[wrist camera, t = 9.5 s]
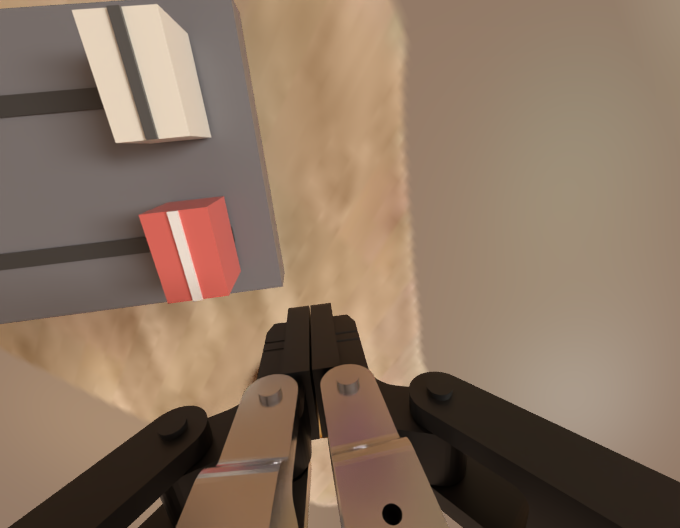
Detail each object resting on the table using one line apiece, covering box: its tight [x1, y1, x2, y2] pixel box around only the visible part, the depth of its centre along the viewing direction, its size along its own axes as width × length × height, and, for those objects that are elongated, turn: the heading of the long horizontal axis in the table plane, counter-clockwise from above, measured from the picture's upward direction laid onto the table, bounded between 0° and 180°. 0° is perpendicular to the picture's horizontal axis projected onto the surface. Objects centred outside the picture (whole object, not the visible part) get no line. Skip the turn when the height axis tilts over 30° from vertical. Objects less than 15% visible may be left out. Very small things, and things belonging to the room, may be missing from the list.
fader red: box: [139, 196, 241, 304], centre depth 22 cm, size 6×4×5 cm, turn 5°
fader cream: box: [72, 4, 211, 144], centre depth 18 cm, size 6×4×5 cm, turn 6°
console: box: [0, 0, 284, 324], centre depth 23 cm, size 20×24×3 cm
